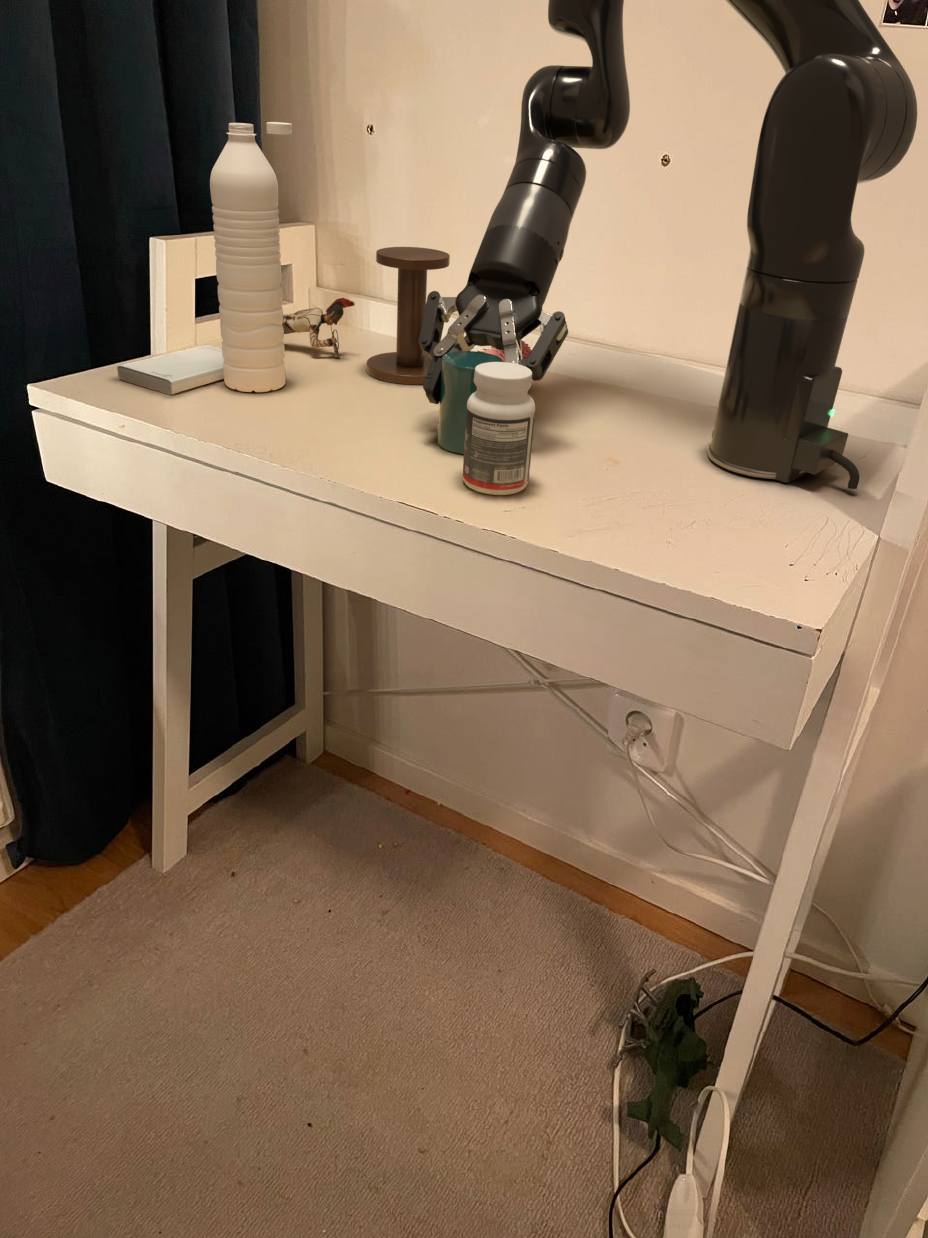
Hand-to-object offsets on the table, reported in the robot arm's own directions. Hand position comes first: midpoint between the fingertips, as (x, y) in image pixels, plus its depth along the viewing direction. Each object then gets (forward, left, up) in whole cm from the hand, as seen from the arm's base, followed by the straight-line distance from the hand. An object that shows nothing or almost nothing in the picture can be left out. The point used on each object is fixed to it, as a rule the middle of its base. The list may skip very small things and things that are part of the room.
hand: (462, 405), depth 84 cm
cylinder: (+1, -2, -4) cm, 5 cm away
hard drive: (+34, +7, -5) cm, 35 cm away
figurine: (+36, -9, -5) cm, 38 cm away
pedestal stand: (+21, -14, -4) cm, 26 cm away
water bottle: (+27, +2, -5) cm, 28 cm away
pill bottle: (-8, +3, -5) cm, 9 cm away
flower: (+10, -19, -5) cm, 22 cm away
